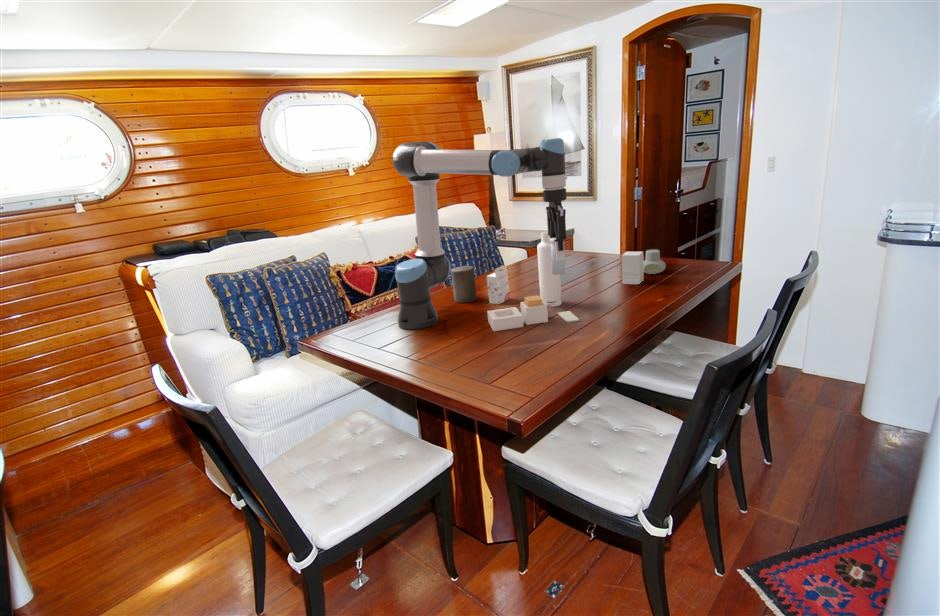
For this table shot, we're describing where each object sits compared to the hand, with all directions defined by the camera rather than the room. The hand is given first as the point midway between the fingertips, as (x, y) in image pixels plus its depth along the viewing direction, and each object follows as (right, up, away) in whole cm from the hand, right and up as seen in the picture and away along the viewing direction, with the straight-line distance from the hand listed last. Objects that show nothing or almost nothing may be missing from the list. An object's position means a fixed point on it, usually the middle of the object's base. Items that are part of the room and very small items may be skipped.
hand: (557, 258), depth 164 cm
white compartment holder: (-13, -23, +5) cm, 27 cm away
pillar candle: (-32, -13, +42) cm, 54 cm away
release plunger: (-7, -21, +5) cm, 23 cm away
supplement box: (+39, -6, +40) cm, 57 cm away
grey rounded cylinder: (+1, -5, +2) cm, 5 cm away
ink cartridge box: (-18, -14, +34) cm, 41 cm away
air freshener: (+52, -1, +51) cm, 73 cm away
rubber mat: (+2, -21, +7) cm, 22 cm away
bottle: (+2, -15, +24) cm, 29 cm away
